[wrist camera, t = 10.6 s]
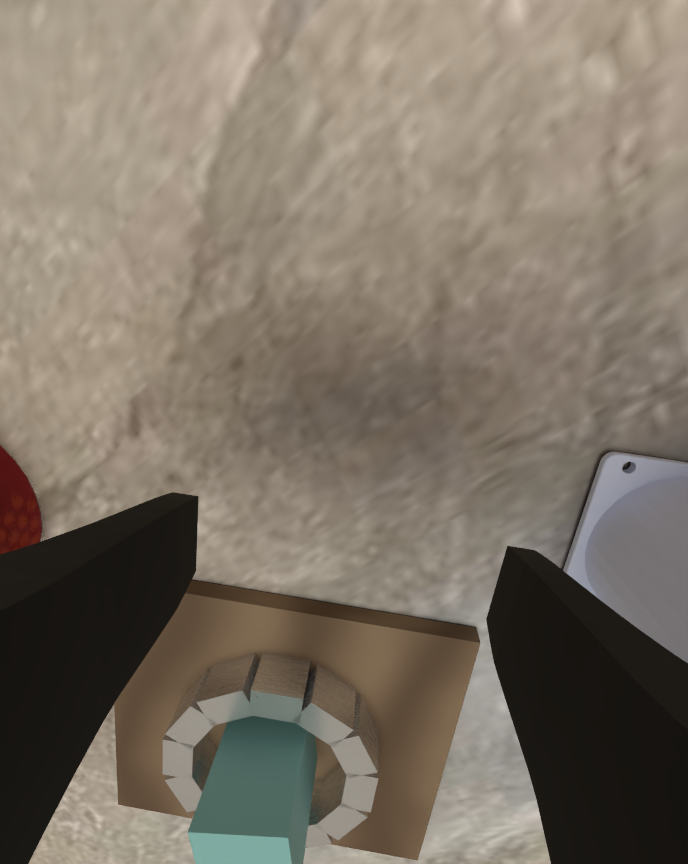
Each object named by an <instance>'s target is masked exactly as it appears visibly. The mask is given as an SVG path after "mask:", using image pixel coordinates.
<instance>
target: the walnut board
mask: <svg viewBox="0 0 688 864" xmlns="http://www.w3.org/2000/svg"><path fill="white" fill-rule="evenodd" d="M479 646H480V640H479V636H478V633H477V629H476V627H470V626H464V625H458V624H452V623H446V622H440V621H434V620H428V619H422V618H416V617H410V616H404V615H398V614H392V613H386V612H380V611H374V610H368V609H362V608H357V607H351V606H345V605H339V604H333V603H327V602H321V601H315V600H309V599H303V598H297V597H291V596H285V595H279V594H273V593H267V592H261V591H255V590H249V589H243V588H237V587H231V586H225V585H219V584H213V583H207V582H201V581H195V580H191V582H190V584H189V586H188V588H187V591H186V593H185V595H184V597H183V598H182V600H181V602H180V604H179V606H178V608H177V610H176V611H175V613H174V615H173V616H172V618H171V619H170V621H169V622H168V624H167V625H166V627H165V628H164V630H163V631H162V633H161V634H160V636H159V637H158V639H157V640H156V642H155V643H154V645H153V646H152V648H151V649H150V651H149V652H148V654H147V655H146V657H145V658H144V660H143V661H142V663H141V664H140V666H139V667H138V669H137V670H136V672H135V673H134V675H133V676H132V677H131V679H130V680H129V682H128V683H127V685H126V686H125V688H124V689H123V691H122V692H121V694H120V695H119V697H118V698H117V700H116V702H115V703H114V706H115V732H116V758H117V785H118V805H124V806H129V807H134V808H140V809H145V810H150V811H156V812H161V813H166V814H172V815H177V816H183V817H188V818H193V817H192V816H193V813H194V811H191V812H186V810H185V809H184V807H183V806H182V805H181V803H180V802H179V800H178V799H177V797H176V796H175V794H174V793H173V792H172V790H171V789H170V787H169V786H168V784H167V783H166V782H165V778H166V776H167V775H163V738H164V736H165V733H166V731H167V729H168V727H169V725H170V723H171V721H172V719H173V717H174V715H175V712H176V710H177V708H178V706H179V704H180V702H181V700H182V698H183V696H184V694H185V693H186V692H187V691H188V690H189V689H190V687H191V686H192V685H193V684H194V683H195V682H196V681H197V680H198V678H199V677H200V676H201V675H202V674H203V673H204V672H205V671H206V669H207V668H210V669H212V667H213V665H214V664H216V663H220V662H223V661H227V660H231V659H234V658H238V657H241V656H245V655H248V654H252V653H256V654H257V656H258V658H259V660H261V657H262V654H263V652H265V653H271V654H276V655H282V656H288V657H294V658H300V659H306V660H311V662H310V669H309V672H310V671H311V670H312V669H313V668H314V667H315V666H316V665H317V664H320V665H321V666H323V667H324V668H326V669H327V670H329V671H330V672H332V673H333V674H335V675H336V676H338V677H339V678H341V679H342V680H344V681H345V682H347V683H348V684H350V685H351V686H353V687H354V688H355V689H356V695H359V694H361V696H362V698H363V700H364V702H365V704H366V706H367V708H368V710H369V712H370V714H371V716H372V718H373V720H374V722H375V724H376V726H377V728H378V734H379V767H378V783H377V787H376V791H375V796H374V800H373V805H372V809H371V812H368V817H367V818H366V819H365V820H364V821H362V822H361V823H360V824H358V825H357V826H356V827H355V828H353V829H352V830H351V831H350V832H348V833H347V834H346V835H344V836H343V837H342V838H341V839H339V840H336V839H335V838H333V837H332V843H330V844H333V845H338V846H343V847H349V848H354V849H359V850H365V851H370V852H376V853H381V854H386V855H392V856H397V857H402V858H408V859H413V860H418V857H419V854H420V850H421V847H422V843H423V840H424V836H425V833H426V829H427V826H428V822H429V819H430V815H431V812H432V809H433V805H434V802H435V798H436V795H437V791H438V788H439V784H440V781H441V777H442V774H443V770H444V767H445V764H446V760H447V757H448V753H449V750H450V746H451V743H452V739H453V736H454V732H455V729H456V725H457V722H458V718H459V715H460V712H461V708H462V705H463V701H464V698H465V694H466V691H467V687H468V684H469V680H470V677H471V673H472V670H473V667H474V663H475V660H476V656H477V653H478V649H479ZM226 725H227V722H225V723H221V724H217V725H214V727H213V728H212V729H211V730H210V731H209V734H208V735H209V736H210V738H211V739H212V741H213V743H214V744H215V746H216V747H217V749H218V747H219V744H220V741H221V738H222V736H223V733H224V730H225V727H226ZM315 739H316V748H317V764H316V772H315V779H314V780H317V779H322V778H323V777H325V776H326V775H327V774H328V773H329V772H330V771H331V770H333V769H334V768H335V767H336V766H337V765H338V764H340V763H339V761H338V759H337V757H336V755H335V753H334V752H333V750H332V748H331V746H330V745H329V744H327V743H325V742H324V741H322V740H321V739H319V738H318V737H316V736H315Z"/></svg>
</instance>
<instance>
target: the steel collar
mask: <svg viewBox="0 0 688 864" xmlns="http://www.w3.org/2000/svg"><path fill="white" fill-rule="evenodd" d="M310 662H311V660H306V659H300V658H294V657H288V656H282V655H276V654H271V653H265V652H263V654H262V657H261V660H259V658H258V656H257V654H256V653H252V654H248V655H245V656H241V657H238V658H234V659H231V660H227V661H223V662H220V663H216V664H214V665H213V667H212V669H210V668H207V669H206V671H205V672H204V673H203V674H202V675H201V676H200V677H199V678H198V680H197V681H196V682H195V683H194V684H193V685H192V686H191V687H190V689H189V690H188V691H187V692H186V693H185V694H184V696H183V698H182V700H181V702H180V704H179V706H178V708H177V710H176V712H175V715H174V717H173V719H172V721H171V723H170V725H169V727H168V729H167V731H166V733H165V736H164V738H163V775H167V776H166V778H165V782H166V783H167V784H168V786H169V787H170V789H171V790H172V792H173V793H174V794H175V796H176V797H177V799H178V800H179V802H180V803H181V805H182V806H183V807H184V809H185V810H186V812H191V811H194V813H193V816H192V817H194V814H195V811H196V808H197V806H198V803H199V800H200V797H201V794H202V792H203V789H204V786H205V783H206V780H207V778H208V775H209V772H210V769H211V766H212V764H213V761H214V758H215V755H216V752H217V750H218V749H217V747H216V746H215V744H214V743H213V741H212V739H211V738H210V736H209V735H208V734H209V731H210V730H211V729H212V728H213V727H214V725H217V724H221V723H225V722H229V721H233V720H237V719H241V718H245V717H249V716H258V717H263V718H269V719H275V720H280V721H286V722H292V723H296V724H298V725H299V726H301V727H302V728H304V729H305V730H307V731H308V732H310V733H312V734H313V735H315V736H316V737H318V738H319V739H321V740H322V741H324V742H325V743H327V744H329V745H330V746H331V748H332V750H333V752H334V753H335V755H336V757H337V759H338V761H339V763H340V764H338V765H337V766H336V767H335V768H334V769H333V770H331V771H330V772H329V773H328V774H327V775H326V776H325V777H323V778H322V779H317V780H314V786H313V794H312V801H311V808H310V816H309V823H308V830H307V838H306V845H305V848H308V847H313V846H319V845H324V844H330V843H332V837H333V838H335V839H336V840H339V839H341V838H342V837H343V836H344V835H346V834H347V833H348V832H350V831H351V830H352V829H353V828H355V827H356V826H357V825H358V824H360V823H361V822H362V821H364V820H365V819H366V818H367V817H368V812H371V809H372V805H373V800H374V796H375V791H376V787H377V783H378V767H379V734H378V728H377V726H376V724H375V722H374V720H373V718H372V716H371V714H370V712H369V710H368V708H367V706H366V704H365V702H364V700H363V698H362V696H361V694H359V695H356V689H355V688H354V687H353V686H351V685H350V684H348V683H347V682H345V681H344V680H342V679H341V678H339V677H338V676H336V675H335V674H333V673H332V672H330V671H329V670H327V669H326V668H324V667H323V666H321V665H320V664H317V665H316V666H315V667H314V668H313V669H312V670H311V671H310V672H309V669H310Z"/></svg>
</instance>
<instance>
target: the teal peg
mask: <svg viewBox="0 0 688 864" xmlns="http://www.w3.org/2000/svg"><path fill="white" fill-rule="evenodd" d="M316 764H317V748H316V739H315V735H313V734H312V733H310V732H308V731H307V730H305V729H304V728H302V727H301V726H299V725H298V724H296V723H292V722H286V721H280V720H275V719H269V718H263V717H258V716H249V717H245V718H241V719H237V720H233V721H229V722H227V725H226V727H225V730H224V733H223V736H222V738H221V741H220V744H219V747H218V750H217V752H216V755H215V758H214V761H213V764H212V766H211V769H210V772H209V775H208V778H207V780H206V783H205V786H204V789H203V792H202V794H201V797H200V800H199V803H198V806H197V808H196V811H195V814H194V817H193V820H192V822H191V825H190V828H189V831H188V835H189V839H190V843H191V847H192V851H193V855H194V860H195V864H303V859H304V852H305V845H306V838H307V830H308V823H309V816H310V808H311V801H312V794H313V786H314V779H315V772H316Z"/></svg>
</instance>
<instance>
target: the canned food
mask: <svg viewBox="0 0 688 864" xmlns="http://www.w3.org/2000/svg"><path fill="white" fill-rule="evenodd" d="M41 534H42V522H41V512H40V508H39V505H38V501H37V498H36V495H35V493H34V491H33V489H32V486H31V484H30V482H29V480H28V478H27V477H26V475H25V474H24V472H23V471H22V470H21V468H20V467H19V465H18V464H17V462H16V461H15V460H14V459H13V458H12V457H11V456H10V455H9V454H8V453H7V452H6V451H5V450H4V448H3V447H2V446H1V445H0V554H3V553H6V552H10V551H13V550H17V549H20V548H23V547H26V546H30V545H33V544H36V543H39V542H40V541H41Z"/></svg>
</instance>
